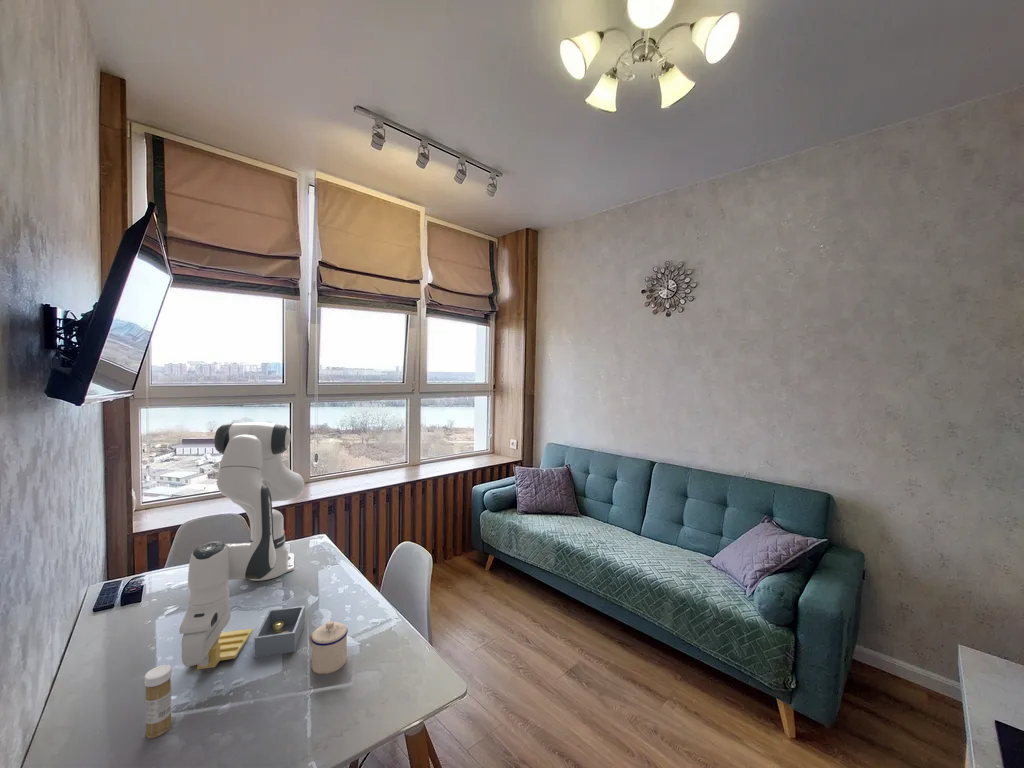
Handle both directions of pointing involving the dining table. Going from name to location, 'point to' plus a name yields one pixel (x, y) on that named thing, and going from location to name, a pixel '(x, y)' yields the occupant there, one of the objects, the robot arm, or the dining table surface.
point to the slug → (278, 627)
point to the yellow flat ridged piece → (227, 646)
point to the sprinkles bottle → (158, 701)
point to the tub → (284, 641)
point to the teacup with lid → (329, 647)
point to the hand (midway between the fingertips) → (209, 658)
